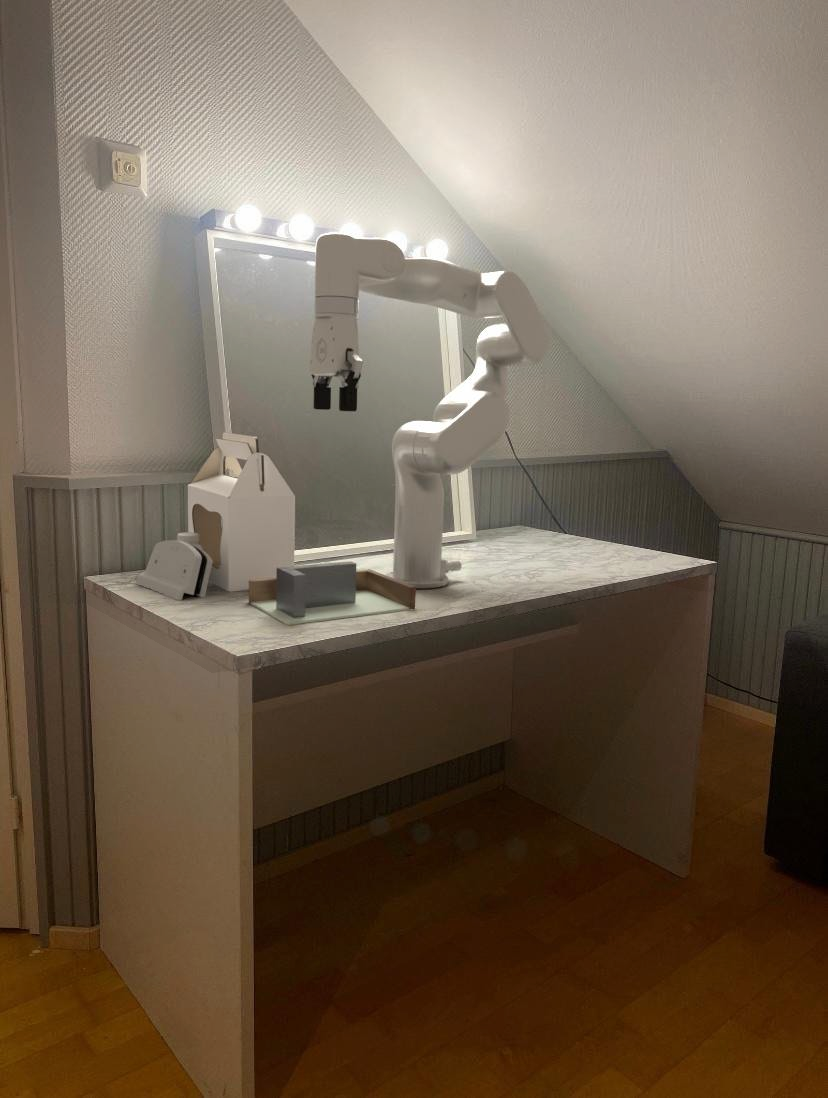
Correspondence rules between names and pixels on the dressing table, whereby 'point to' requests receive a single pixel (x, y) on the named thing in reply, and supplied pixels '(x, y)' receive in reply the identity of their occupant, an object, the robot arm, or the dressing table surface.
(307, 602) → the bracket
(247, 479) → the gable box
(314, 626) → the dressing table surface
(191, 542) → the pill bottle
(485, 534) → the dressing table surface
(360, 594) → the sage mat
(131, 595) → the dressing table surface
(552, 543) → the dressing table surface
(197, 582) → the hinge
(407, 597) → the walnut wall short
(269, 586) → the walnut wall long
